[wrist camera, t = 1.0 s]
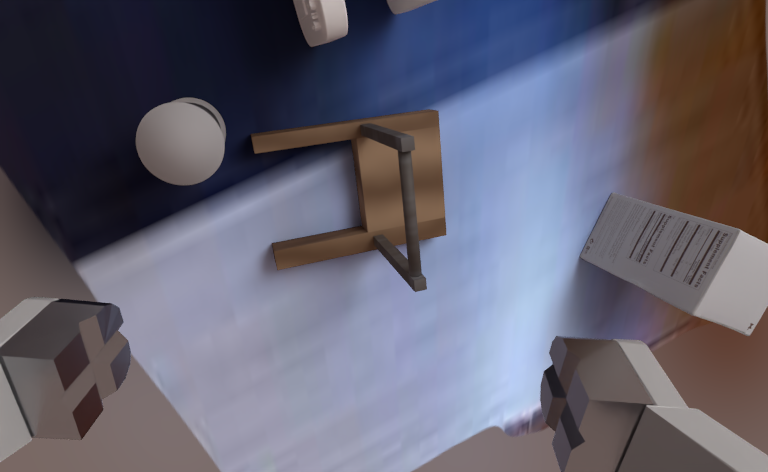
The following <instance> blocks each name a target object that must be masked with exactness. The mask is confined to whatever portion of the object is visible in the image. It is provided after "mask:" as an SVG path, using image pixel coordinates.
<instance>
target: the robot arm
mask: <svg viewBox="0 0 768 472" xmlns="http://www.w3.org/2000/svg"><path fill="white" fill-rule="evenodd" d="M122 324H123V318H122V315H121V312H120V308H119V307H117V306H116V305H114V304H111V303H100V302H90V301H78V300H69V299H55V298H43V297H32V298H28V299H25V300H23V301H22V302H21V303H20V304H18V305H17V306H16V307H15V308H13V309H12V310H11V311H10V312H9V313H7V314H6V315H5V316H4V317H2V318H1V319H0V462H1V461H3V460H4V459H6V458H7V457H8V456H10V455H11V454H13V453H14V452H16V451H17V450H19V449H20V448H22V447H23V446H25V445H26V444H27V443H29V442H30V441H32V438H51V439H71V440H82V438H83V437H84V436H85V434H86V433H87V432H88V430H89V429H90V427H91V426H92V425H93V423H94V422H95V421H96V419H97V418H98V417H99V415H100V414H101V412H102V411H103V403H102V399H104V398H105V397H107V396H108V395H110V394H112V393H114V392H116V391H117V390H118V388H119V387H120V386H121V384H122V383H123V381H124V380H125V378H126V375H127V372H128V369H129V366H130V357H131V351H130V346H129V342H128V340H127V339H126V338H125V337H124V336H123V335H122V334H121V333H120V332H119V331H118V330H119V328H120V327H121V325H122ZM549 354H550V357H551V359H552V362H553V365H551V366H550V367H549V368H548V369H546V370H545V371H544V374H543V378H542V382H541V395H540V401H541V407H542V413H543V416H544V420H545V423H546V424H547V425H548V426H549V427H551V428H552V429H553V430H554V431H555V435H554V438H553V442H552V445H553V449H554V452H555V455H556V458H557V461H558V464H559V467H560V470H561V472H768V456H767V455H766V454H764V453H763V452H762V451H760V450H759V449H757V448H755V447H754V446H752V445H751V444H750V443H748V442H747V441H745V440H744V439H742V438H741V437H739V436H737V435H736V434H734V433H733V432H732V431H730V430H729V429H727V428H725V427H724V426H723V425H721V424H720V423H718V422H716V421H715V420H714V419H712V418H710V417H709V416H707V415H706V414H705V413H703V412H701V411H700V410H698V409H692V408H688V407H687V405H686V404H685V402H684V401H683V399H682V398H681V396H680V395H679V393H678V392H677V390H676V389H675V387H674V386H673V384H672V383H671V381H670V380H669V378H668V377H667V375H666V374H665V372H664V371H663V369H662V368H661V366H660V365H659V363H658V362H657V360H656V359H655V358H654V356H653V354H652V353H651V351H650V350H649V348H648V347H647V345H646V344H645V343H643V342H642V341H640V340H624V339H611V340H607V339H592V338H578V337H563V336H556V337H555V339H554V341H553V342H552V345H551V348H550V352H549Z"/></svg>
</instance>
